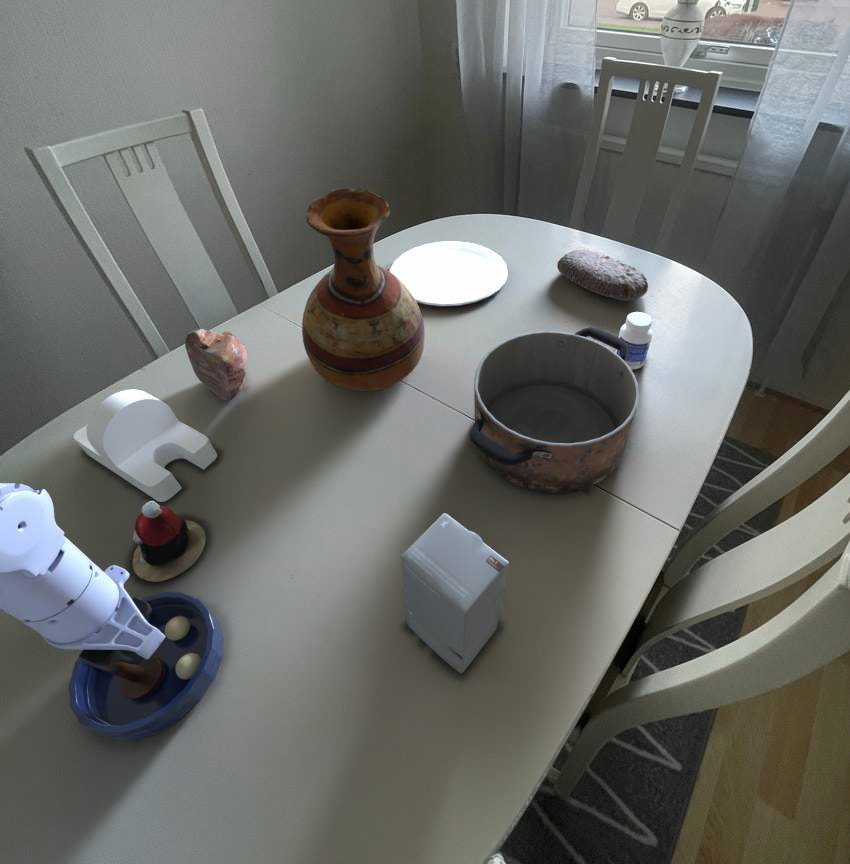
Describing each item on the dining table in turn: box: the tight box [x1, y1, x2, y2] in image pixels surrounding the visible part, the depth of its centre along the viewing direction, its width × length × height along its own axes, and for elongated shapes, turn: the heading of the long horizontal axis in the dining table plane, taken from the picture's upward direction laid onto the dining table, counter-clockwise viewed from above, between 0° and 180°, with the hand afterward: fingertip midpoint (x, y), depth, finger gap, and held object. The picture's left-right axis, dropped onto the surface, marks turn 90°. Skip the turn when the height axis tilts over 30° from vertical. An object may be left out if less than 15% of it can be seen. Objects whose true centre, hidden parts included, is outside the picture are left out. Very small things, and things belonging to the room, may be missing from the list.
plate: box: [389, 240, 509, 308], centre depth 109 cm, size 25×25×1 cm
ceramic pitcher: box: [301, 187, 425, 392], centre depth 79 cm, size 20×20×30 cm
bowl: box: [68, 591, 224, 742], centre depth 54 cm, size 13×13×4 cm
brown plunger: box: [83, 655, 166, 701], centre depth 50 cm, size 4×4×10 cm
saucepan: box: [469, 326, 640, 494], centre depth 74 cm, size 30×22×11 cm
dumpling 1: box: [165, 616, 190, 640], centre depth 56 cm, size 2×2×2 cm
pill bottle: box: [614, 311, 653, 370], centre depth 87 cm, size 5×5×9 cm
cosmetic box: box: [400, 513, 510, 674], centre depth 52 cm, size 8×7×16 cm
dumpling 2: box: [176, 653, 202, 680], centre depth 53 cm, size 2×2×2 cm
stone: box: [184, 328, 248, 402], centre depth 83 cm, size 13×8×10 cm
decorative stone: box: [556, 249, 649, 301], centre depth 105 cm, size 20×14×5 cm
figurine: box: [132, 500, 206, 583], centre depth 62 cm, size 8×10×12 cm
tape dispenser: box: [73, 389, 218, 503], centre depth 72 cm, size 10×18×11 cm, turn 60°
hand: (132, 647), depth 51 cm, fingers closed
